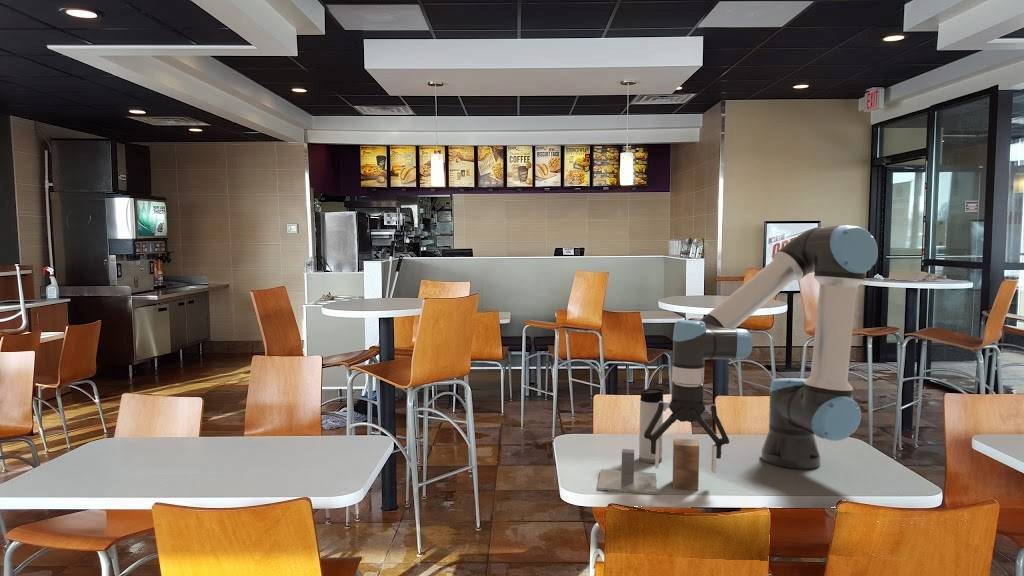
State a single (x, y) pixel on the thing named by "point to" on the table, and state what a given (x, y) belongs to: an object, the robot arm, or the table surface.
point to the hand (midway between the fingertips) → (684, 469)
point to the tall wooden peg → (685, 464)
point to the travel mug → (646, 414)
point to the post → (627, 477)
